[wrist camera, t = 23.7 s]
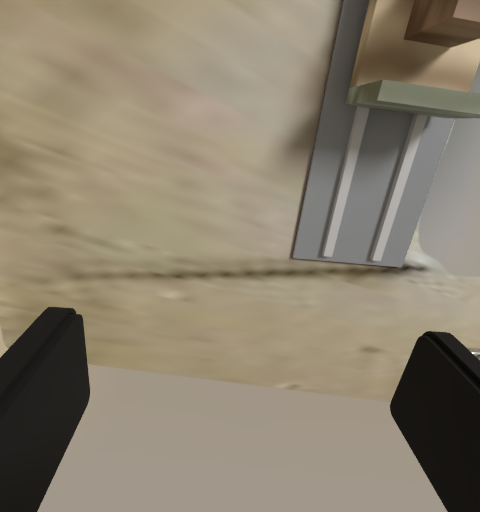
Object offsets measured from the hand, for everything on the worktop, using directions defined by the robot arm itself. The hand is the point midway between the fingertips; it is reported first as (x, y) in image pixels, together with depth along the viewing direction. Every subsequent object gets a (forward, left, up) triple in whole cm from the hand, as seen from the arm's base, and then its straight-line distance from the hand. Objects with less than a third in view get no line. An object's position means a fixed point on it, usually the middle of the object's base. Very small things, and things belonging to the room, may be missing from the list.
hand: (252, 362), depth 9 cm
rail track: (+11, -18, -32) cm, 39 cm away
